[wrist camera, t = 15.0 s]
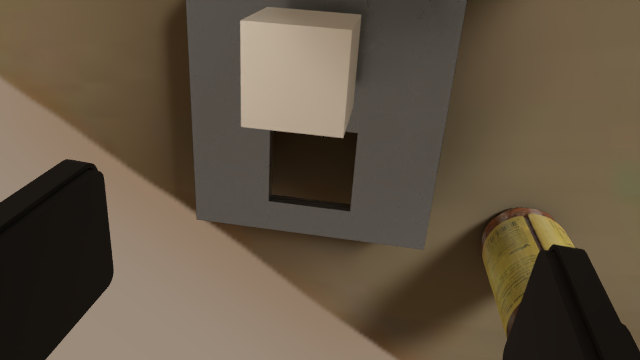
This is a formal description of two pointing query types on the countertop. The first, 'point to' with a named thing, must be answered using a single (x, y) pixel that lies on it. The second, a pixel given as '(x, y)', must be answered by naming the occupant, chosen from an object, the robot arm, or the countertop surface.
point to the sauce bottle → (516, 254)
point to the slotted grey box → (366, 119)
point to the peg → (298, 70)
